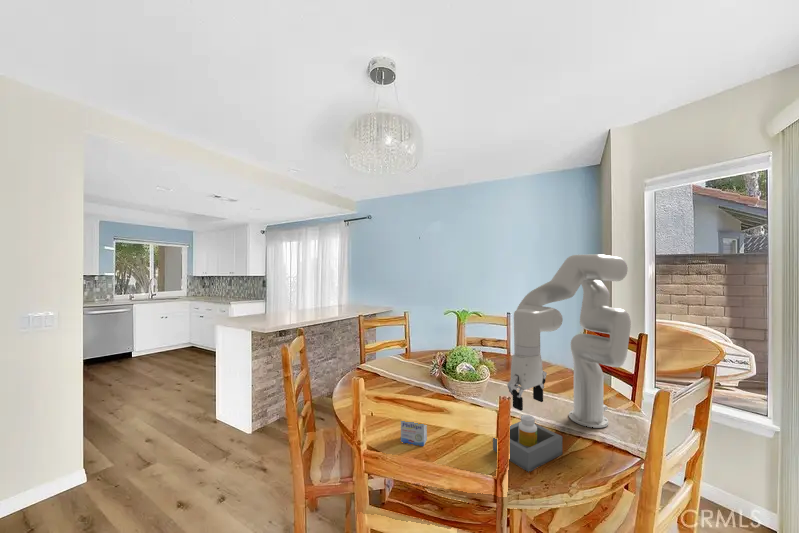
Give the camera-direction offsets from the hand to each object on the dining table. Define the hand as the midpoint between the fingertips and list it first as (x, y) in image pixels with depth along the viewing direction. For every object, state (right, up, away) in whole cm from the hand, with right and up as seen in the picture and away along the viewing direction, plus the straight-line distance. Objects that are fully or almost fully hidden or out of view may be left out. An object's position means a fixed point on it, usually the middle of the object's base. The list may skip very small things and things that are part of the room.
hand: (528, 404), depth 102 cm
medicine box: (-35, -15, +7) cm, 39 cm away
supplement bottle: (0, -14, 0) cm, 14 cm away
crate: (0, -15, 0) cm, 15 cm away
